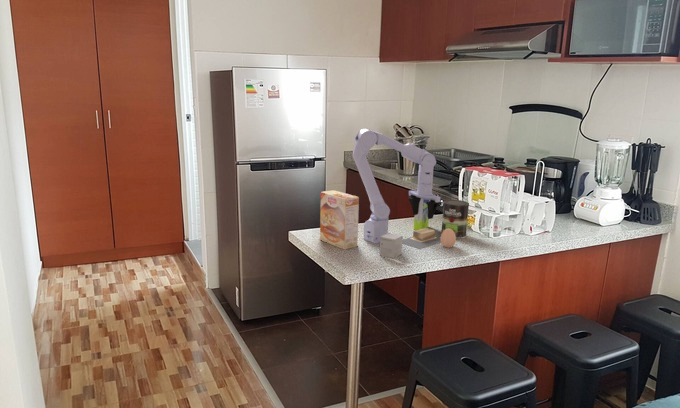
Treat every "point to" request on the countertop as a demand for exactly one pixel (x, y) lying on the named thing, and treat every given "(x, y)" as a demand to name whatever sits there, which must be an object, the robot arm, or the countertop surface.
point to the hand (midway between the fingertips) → (422, 216)
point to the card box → (423, 234)
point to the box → (421, 215)
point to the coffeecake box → (339, 219)
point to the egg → (448, 238)
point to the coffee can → (455, 217)
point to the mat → (421, 242)
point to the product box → (390, 245)
